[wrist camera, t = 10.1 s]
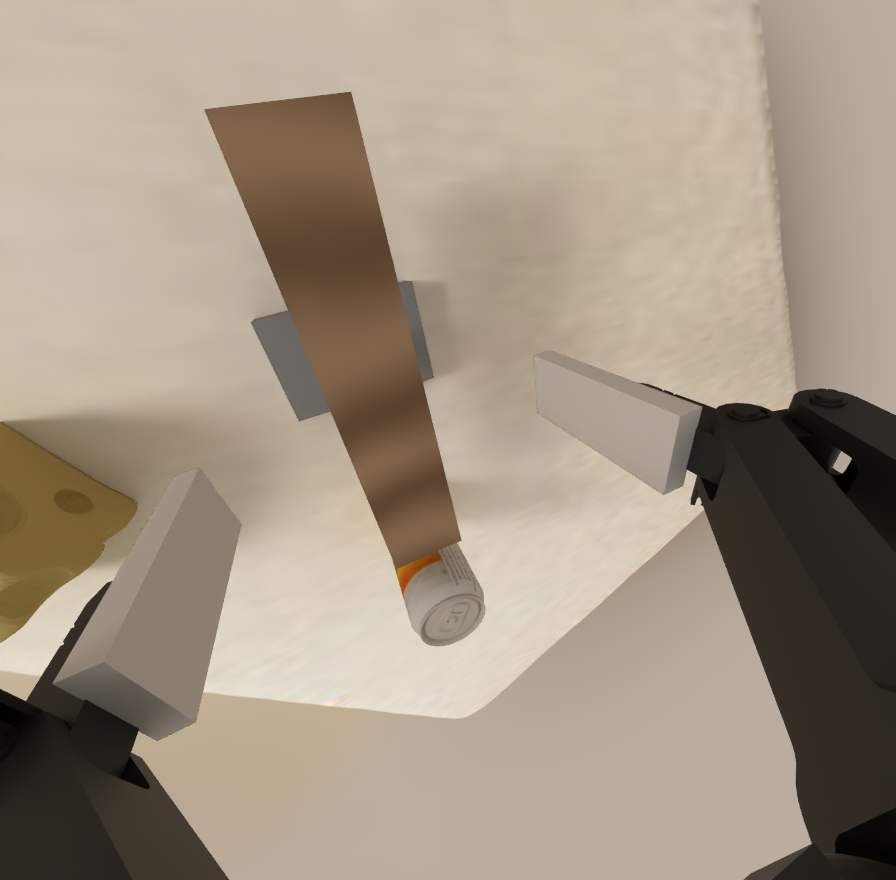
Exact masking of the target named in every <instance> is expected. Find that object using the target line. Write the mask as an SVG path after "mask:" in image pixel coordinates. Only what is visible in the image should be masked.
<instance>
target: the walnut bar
mask: <svg viewBox="0 0 896 880" xmlns="http://www.w3.org/2000/svg"><path fill="white" fill-rule="evenodd" d="M204 110H205V112H206V115H207V117H208V120H209V122H210V124H211V127H212V129H213V132H214V134H215V136H216V139H217V141H218V143H219V146H220V148H221V151H222V153H223V155H224V158H225V160H226V163H227V165H228V167H229V170H230V172H231V175H232V177H233V179H234V182H235V184H236V186H237V189H238V191H239V194H240V196H241V198H242V201H243V203H244V206H245V208H246V210H247V213H248V215H249V218H250V220H251V222H252V225H253V227H254V229H255V232H256V234H257V237H258V239H259V241H260V244H261V246H262V249H263V251H264V253H265V256H266V258H267V260H268V263H269V265H270V268H271V270H272V272H273V275H274V277H275V280H276V282H277V284H278V287H279V289H280V292H281V294H282V296H283V299H284V301H285V303H286V306H287V308H288V311H289V313H290V315H291V318H292V320H293V323H294V325H295V327H296V330H297V332H298V335H299V337H300V339H301V342H302V344H303V346H304V349H305V351H306V354H307V356H308V358H309V361H310V363H311V366H312V368H313V370H314V373H315V375H316V378H317V380H318V382H319V385H320V387H321V389H322V392H323V394H324V397H325V399H326V401H327V404H328V406H329V409H330V411H331V413H332V416H333V418H334V420H335V423H336V425H337V428H338V430H339V432H340V435H341V437H342V440H343V442H344V444H345V447H346V449H347V452H348V454H349V456H350V459H351V461H352V463H353V466H354V468H355V471H356V473H357V475H358V478H359V480H360V483H361V485H362V487H363V490H364V492H365V495H366V497H367V499H368V502H369V504H370V506H371V509H372V511H373V514H374V516H375V518H376V521H377V523H378V526H379V528H380V530H381V533H382V535H383V538H384V540H385V542H386V545H387V547H388V549H389V552H390V554H391V557H392V559H393V561H394V564H395V566H396V569H398V568H400V567H402V566H405V565H407V564H409V563H411V562H414V561H416V560H418V559H420V558H423V557H425V556H427V555H430V554H432V553H434V552H436V551H439V550H441V549H443V548H446V547H448V546H450V545H452V544H455V543H457V542H459V541H461V537H460V533H459V529H458V525H457V521H456V516H455V512H454V508H453V504H452V500H451V496H450V492H449V488H448V484H447V480H446V476H445V472H444V468H443V464H442V460H441V456H440V451H439V447H438V443H437V439H436V435H435V431H434V427H433V423H432V419H431V415H430V411H429V407H428V403H427V399H426V395H425V390H424V386H423V382H422V378H421V374H420V370H419V366H418V362H417V358H416V354H415V350H414V346H413V342H412V338H411V334H410V330H409V325H408V321H407V317H406V313H405V309H404V305H403V301H402V297H401V293H400V289H399V285H398V281H397V277H396V273H395V269H394V264H393V260H392V256H391V252H390V248H389V244H388V240H387V236H386V232H385V228H384V224H383V220H382V216H381V212H380V208H379V204H378V199H377V195H376V191H375V187H374V183H373V179H372V175H371V171H370V167H369V163H368V159H367V155H366V151H365V147H364V143H363V138H362V134H361V130H360V126H359V122H358V118H357V114H356V110H355V106H354V102H353V98H352V94H351V92H345V93H337V94H329V95H320V96H312V97H304V98H295V99H287V100H278V101H270V102H262V103H253V104H245V105H237V106H228V107H220V108H211V109H204Z"/></svg>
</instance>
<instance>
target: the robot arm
mask: <svg viewBox="0 0 896 880" xmlns="http://www.w3.org/2000/svg"><path fill="white" fill-rule="evenodd" d="M534 365H535V385H536V404H537V413H538V414H540V415H542V416H543V417H545V418H546V419H548V420H549V421H551V422H552V423H554V424H555V425H557V426H558V427H560V428H561V429H563V430H564V431H566V432H568V433H569V434H571V435H572V436H574V437H575V438H577V439H578V440H580V441H581V442H583V443H584V444H586V445H587V446H589V447H591V448H592V449H594V450H595V451H597V452H598V453H600V454H601V455H603V456H604V457H606V458H607V459H609V460H610V461H612V462H613V463H615V464H617V465H618V466H620V467H621V468H623V469H624V470H626V471H627V472H629V473H630V474H632V475H633V476H635V477H636V478H638V479H639V480H641V481H643V482H644V483H646V484H647V485H649V486H650V487H652V488H653V489H655V490H656V491H658V492H659V493H661V494H662V495H665V494H667V493H669V492H671V491H673V490H675V489H677V488H680V487H682V486H683V484H684V480H685V476H686V472H687V470H689V471H691V472H693V473H695V474H696V475H697V478H696V482H695V485H694V489H693V493H692V496H691V505H695V503H696V500H697V498H699V497H700V499H701V501H702V504H701V506H703V507H704V509H705V512H706V515H707V517H708V520H709V523H710V525H711V528H712V531H713V534H714V536H715V539H716V541H717V544H718V547H719V550H720V552H721V555H722V557H723V560H724V563H725V566H726V568H727V571H728V574H729V576H730V579H731V581H732V584H733V587H734V590H735V592H736V595H737V598H738V601H739V603H740V606H741V609H742V611H743V614H744V616H745V619H746V622H747V625H748V627H749V630H750V633H751V635H752V638H753V641H754V643H755V646H756V649H757V651H758V654H759V656H760V659H761V662H762V665H763V667H764V670H765V673H766V675H767V678H768V681H769V683H770V686H771V688H772V692H773V694H774V697H775V700H776V702H777V705H778V708H779V710H780V713H781V715H782V718H783V720H784V724H785V726H786V729H787V732H788V734H789V737H790V740H791V742H792V745H793V749H794V752H795V758H796V790H797V796H798V802H799V805H800V809H801V812H802V816H803V819H804V822H805V825H806V828H807V831H808V834H809V836H810V839H811V842H812V844H811V845H808V846H807V847H804V848H803V849H800V850H798V851H796V852H794V853H792V854H790V855H788V856H786V857H784V858H782V859H780V860H778V861H776V862H773V863H771V864H770V865H768V866H765V867H763V868H761V869H759V870H757V871H755V872H753V873H751V874H750V875H749V876H748V877H746V878H745V879H744V880H896V415H894V414H891V413H890V412H888V411H886V410H883V409H881V408H879V407H877V406H875V405H873V404H871V403H869V402H867V401H865V400H862V399H860V398H858V397H855V396H853V395H850V394H847V393H843V392H838V391H836V390H832V389H828V390H826V389H816V390H804V391H800V392H798V393H796V394H795V395H794V396H793V399H792V401H791V404H790V406H789V409H784V410H778V411H771V410H769V409H767V408H764V407H761V406H757V405H752V404H744V403H732V404H725V405H722V406H719V407H718V408H717V409H715V408H713V407H710V406H707V405H704V404H702V403H699V402H696V401H693V400H691V399H688V398H685V397H682V396H680V395H677V394H676V395H674V394H673V393H671V392H668V391H666V390H664V391H662V389H660V388H657V387H655V386H652V385H649V384H644V383H638V382H634V381H631V380H629V379H626V378H623V377H620V376H618V375H615V374H612V373H610V372H607V371H604V370H601V369H599V368H596V367H593V366H591V365H588V364H585V363H582V362H580V361H577V360H574V359H572V358H569V357H566V356H564V355H561V354H558V353H555V352H553V351H550V350H549V351H546V352H543V353H540V354H537V355H534ZM841 451H843V452H844V453H845V454H847V455H848V456H850V457H851V458H852V460H851V462H850V464H849V465H848V467H847V469H846V470H845V471H844V473H843V474H842V473H840V472H838V471H836V470H835V469H834V468H832V467H833V465H834V463H835V462H836V460H837V458H838V456H839V454H840V452H841ZM240 528H241V523H240V522H239V520H238V519H237V518H236V516H235V515H234V514H233V512H232V511H231V509H230V508H229V507H228V505H227V504H226V503H225V501H224V500H223V499H222V497H221V496H220V495H219V493H218V492H217V490H216V489H215V488H214V486H213V485H212V484H211V482H210V481H209V480H208V478H207V477H206V476H205V474H204V473H203V471H202V470H201V469H200V467H199V468H196V469H193V470H190V471H187V472H184V473H181V474H178V475H175V476H174V478H173V479H172V481H171V483H170V485H169V486H168V488H167V490H166V491H165V493H164V495H163V496H162V498H161V500H160V502H159V503H158V505H157V507H156V508H155V510H154V512H153V513H152V515H151V517H150V519H149V520H148V522H147V524H146V525H145V527H144V529H143V530H142V532H141V534H140V536H139V537H138V539H137V541H136V542H135V544H134V546H133V547H132V549H131V551H130V553H129V554H128V556H127V558H126V559H125V561H124V563H123V564H122V566H121V568H120V570H119V571H118V573H117V575H116V576H115V578H114V580H113V581H111V582H108V583H106V584H105V585H104V586H103V587H102V589H101V590H100V591H99V592H98V593H97V594H96V595H95V596H94V597H93V598H92V599H91V600H90V601H89V602H88V603H87V604H86V606H85V607H84V609H83V611H82V612H81V614H80V615H79V617H78V619H77V620H76V622H75V623H74V625H75V627H74V628H71V630H70V631H69V633H68V635H67V636H66V638H65V639H64V641H63V642H64V645H62V646H60V647H59V649H58V651H57V652H56V654H55V655H54V657H53V659H52V660H51V662H50V663H49V665H48V667H47V668H46V670H45V671H44V673H43V675H42V676H41V678H40V680H39V681H38V683H37V684H36V686H35V687H34V689H33V691H32V692H31V694H30V695H29V697H28V699H27V700H26V701H24V700H22V699H20V698H18V697H16V696H14V695H12V694H10V693H8V692H6V691H3V690H1V689H0V880H229V879H228V878H227V876H226V875H225V873H224V872H223V871H222V869H221V868H220V867H219V865H218V864H217V862H216V861H215V860H214V858H213V857H212V855H211V854H210V853H209V851H208V850H207V848H206V847H205V845H204V844H203V843H202V841H201V840H200V839H199V837H198V836H197V834H196V833H195V832H194V830H193V829H192V827H191V826H190V825H189V824H188V822H187V820H186V819H185V818H184V816H183V815H182V813H181V812H180V811H179V809H178V808H177V806H176V805H175V804H174V802H173V801H172V800H171V798H170V797H169V795H168V794H167V793H166V791H165V790H164V788H163V787H162V786H161V784H160V783H159V781H158V780H157V779H156V777H155V776H154V775H153V773H152V772H151V770H150V769H149V768H148V766H147V765H146V763H145V762H144V761H143V759H142V758H141V757H139V756H137V755H135V754H133V753H131V751H132V748H133V745H134V742H135V739H136V736H137V734H138V731H140V732H142V733H143V734H145V735H147V736H149V737H151V738H153V739H154V740H156V741H158V740H160V739H162V738H165V737H167V736H168V735H171V734H173V733H175V732H177V731H179V730H181V729H183V728H185V727H187V726H189V725H191V724H193V723H195V722H196V720H197V715H198V711H199V707H200V702H201V698H202V693H203V689H204V685H205V680H206V676H207V672H208V667H209V663H210V659H211V654H212V650H213V645H214V641H215V637H216V632H217V628H218V624H219V619H220V615H221V611H222V606H223V602H224V598H225V593H226V589H227V584H228V580H229V576H230V571H231V567H232V563H233V558H234V554H235V550H236V545H237V541H238V537H239V532H240Z"/></svg>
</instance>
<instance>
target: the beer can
mask: <svg viewBox="0 0 896 880" xmlns="http://www.w3.org/2000/svg"><path fill="white" fill-rule="evenodd" d="M392 560H393V559H392ZM393 563H394V561H393ZM394 567H395V570H396V574H397V577H398V581H399V584H400V587H401V591H402V594H403V598H404V601H405V605H406V608H407V612H408V615H409V619H410V622H411V625H412V628H413V629H414V631H415V632H416V633H417V634H418V635H420V636H421V639H422V640H423V641H424V642H425V643H426V644H428V645H431V646H445V645H449V644H452V643H455V642H457V641H459V640H461V639H463V638H465V637H466V636H468V635H469V634H470V633H472V632H473V631H474V630H475V629H476V628H477V627H478V625H479V624H480V623H481V621H482V619H483V617H484V614H485V605H484V594H483V590H482V588H481V586H480V584H479V583H478V581H477V579H476V577H475V575H474V573H473V571H472V570H471V568H470V566H469V564H468V562H467V560H466V558H465V557H464V555H463V553H462V551H461V549H460V547H459V546H458V544H457V543H455V544H452V545H450V546H448V547H446V548H443V549H441V550H439V551H436V552H434V553H432V554H430V555H427V556H425V557H423V558H420V559H418V560H416V561H414V562H411V563H409V564H407V565H405V566H402V567H400V568H398V569H396V566H395V564H394Z"/></svg>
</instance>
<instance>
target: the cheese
mask: <svg viewBox="0 0 896 880" xmlns="http://www.w3.org/2000/svg"><path fill="white" fill-rule="evenodd" d="M136 510H137V503H135V502H134V501H133V500H131V499H129V498H128V497H126V496H124V495H122V494H120V493H118V492H116V491H114V490H112V489H110V488H108V487H106V486H104V485H102V484H100V483H98V482H97V481H95V480H93V479H92V478H90V477H88V476H87V475H85V474H83V473H82V472H80V471H79V470H77V469H75V468H74V467H72V466H70V465H69V464H67V463H65V462H64V461H62V460H60V459H59V458H57V457H55V456H54V455H52V454H51V453H49V452H47V451H46V450H44V449H43V448H41V447H39V446H38V445H36V444H35V443H33V442H31V441H30V440H28V439H27V438H25V437H24V436H22V435H21V434H19V433H17V432H16V431H14V430H13V429H11V428H9V427H8V426H6V425H4V424H3V423H0V643H1V642H3V641H4V640H6V639H7V638H8V637H10V636H11V635H13V634H14V633H15V632H17V631H18V630H19V629H20V628H22V627H23V626H24V625H25V624H26V623H27V621H28V620H29V619H30V618H31V616H32V615H33V614H34V613H35V612H36V610H37V609H38V608H39V607H40V606H41V605H42V604H43V603H44V602H45V600H46V599H47V598H49V597H50V596H51V595H52V594H53V593H54V592H55V591H56V590H58V589H59V588H60V587H61V586H63V585H64V584H66V583H67V582H69V581H70V580H72V579H74V578H75V577H77V576H78V575H80V574H81V573H82V572H84V571H85V570H86V569H87V568H89V567H90V566H91V565H92V564H93V563H94V562H95V561H96V560H97V558H98V557H99V556H100V554H101V553H102V551H103V550H104V548H105V546H104V544H103V543H104V542H105V541H107V540H108V539H109V538H110V537H112V536H113V535H114V534H116V533H118V532H119V531H120V530H122V529H123V528H124V527H125V526H126V525H127V524H128V523H129V521H130V520H131V519H132V518H133V516H134V514H135V512H136Z"/></svg>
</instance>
